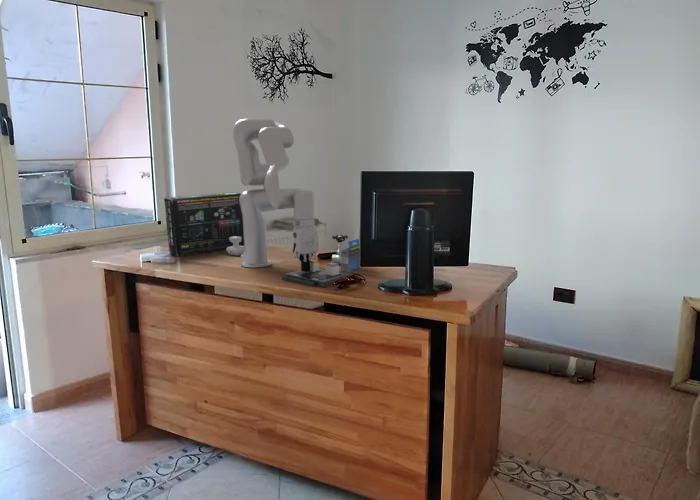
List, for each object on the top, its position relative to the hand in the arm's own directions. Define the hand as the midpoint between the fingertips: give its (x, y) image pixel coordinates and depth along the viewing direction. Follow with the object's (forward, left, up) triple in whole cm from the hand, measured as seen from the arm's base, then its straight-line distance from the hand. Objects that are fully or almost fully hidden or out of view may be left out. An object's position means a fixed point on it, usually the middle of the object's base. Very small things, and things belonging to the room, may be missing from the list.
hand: (305, 271), depth 212 cm
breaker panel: (+5, +1, -3) cm, 6 cm away
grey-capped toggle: (+10, +4, 0) cm, 11 cm away
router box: (-77, +9, -3) cm, 78 cm away
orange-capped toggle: (0, +4, 0) cm, 4 cm away
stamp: (-57, +11, -3) cm, 58 cm away
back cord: (+5, +11, -3) cm, 13 cm away
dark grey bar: (+3, -7, -3) cm, 8 cm away
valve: (-6, +26, -3) cm, 27 cm away
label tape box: (+4, +21, -3) cm, 22 cm away
